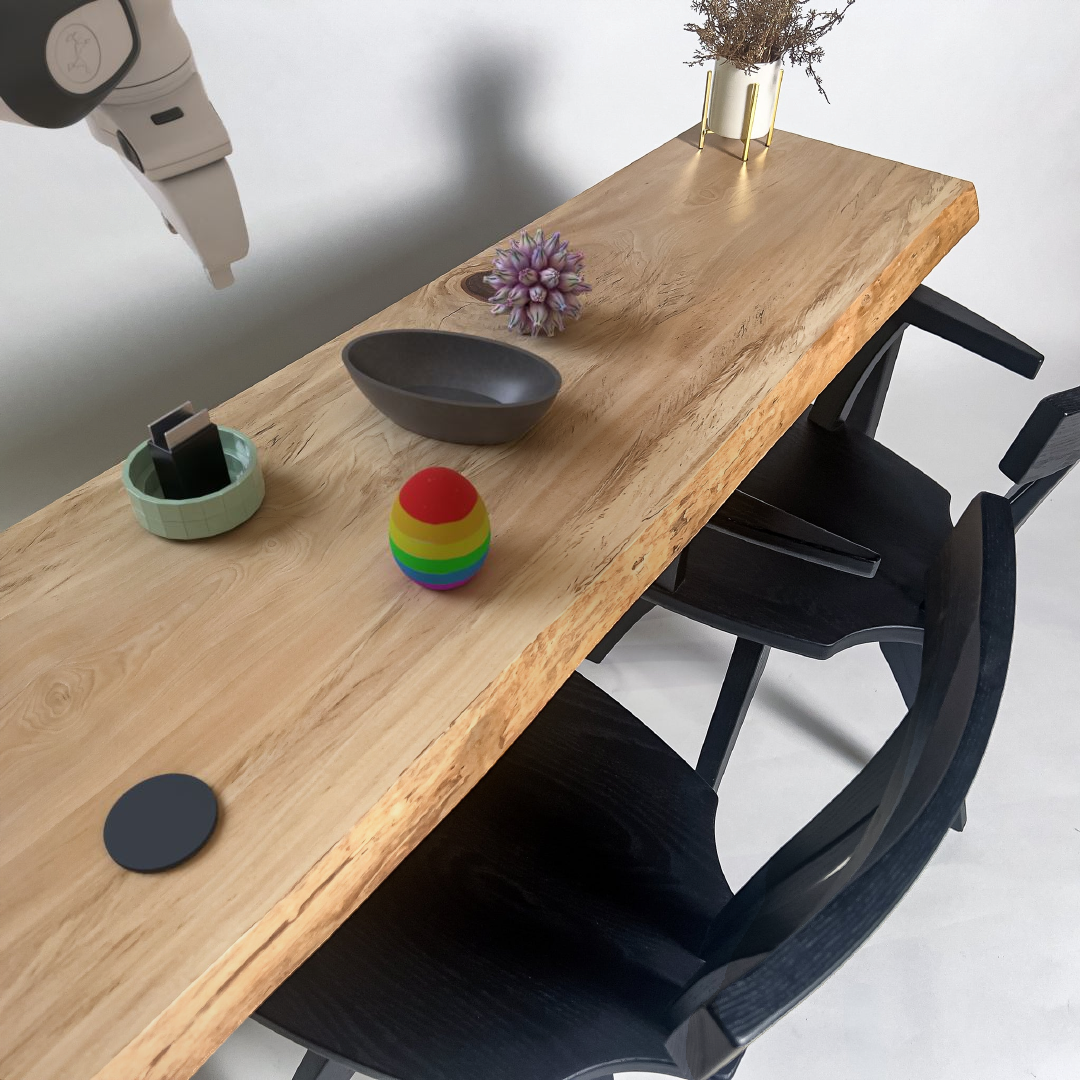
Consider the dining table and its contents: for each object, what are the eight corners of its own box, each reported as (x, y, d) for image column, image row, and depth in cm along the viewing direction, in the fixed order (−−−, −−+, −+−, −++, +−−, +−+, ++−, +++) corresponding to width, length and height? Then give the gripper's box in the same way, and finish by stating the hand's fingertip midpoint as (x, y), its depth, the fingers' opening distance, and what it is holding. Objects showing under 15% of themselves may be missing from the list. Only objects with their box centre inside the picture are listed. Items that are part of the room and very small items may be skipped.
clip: (190, 518, 84) (166, 438, 78) (166, 506, 85) (141, 425, 79) (233, 488, 87) (213, 408, 81) (209, 476, 88) (188, 397, 82)
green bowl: (185, 563, 80) (173, 522, 77) (110, 506, 86) (95, 466, 83) (292, 498, 87) (284, 458, 84) (215, 448, 92) (205, 409, 89)
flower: (585, 322, 114) (590, 356, 104) (483, 316, 114) (478, 350, 103) (593, 221, 108) (600, 247, 98) (486, 215, 108) (482, 240, 98)
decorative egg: (372, 569, 80) (359, 474, 74) (443, 522, 85) (437, 428, 78) (440, 618, 76) (434, 522, 70) (511, 566, 81) (511, 471, 74)
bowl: (538, 478, 90) (539, 423, 85) (325, 430, 95) (316, 376, 90) (576, 408, 98) (579, 355, 94) (379, 368, 103) (373, 315, 99)
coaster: (146, 895, 59) (144, 891, 59) (83, 828, 62) (81, 824, 62) (240, 818, 63) (239, 813, 63) (176, 759, 66) (174, 754, 66)
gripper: (56, 55, 76) (121, 210, 87) (152, 173, 65) (212, 333, 76) (133, 31, 78) (187, 186, 89) (238, 142, 67) (285, 302, 78)
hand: (199, 255), depth 82 cm, fingers open, 8 cm apart
